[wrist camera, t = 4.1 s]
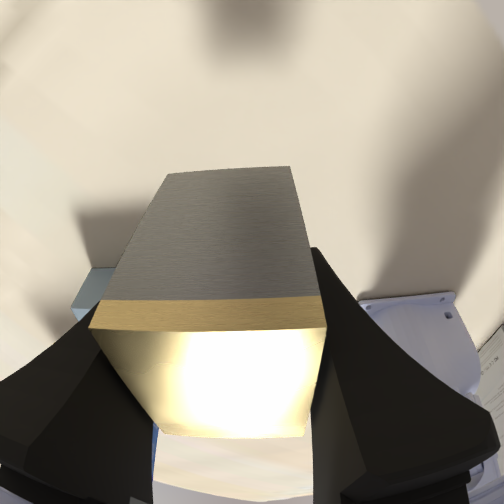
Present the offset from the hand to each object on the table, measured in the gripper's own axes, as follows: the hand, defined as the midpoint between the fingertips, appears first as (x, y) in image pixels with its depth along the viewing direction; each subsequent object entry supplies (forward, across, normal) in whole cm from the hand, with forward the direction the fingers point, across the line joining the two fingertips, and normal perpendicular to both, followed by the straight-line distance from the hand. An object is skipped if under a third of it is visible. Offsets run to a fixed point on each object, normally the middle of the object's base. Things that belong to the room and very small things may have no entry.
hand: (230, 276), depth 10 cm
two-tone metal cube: (+2, 0, 0) cm, 2 cm away
